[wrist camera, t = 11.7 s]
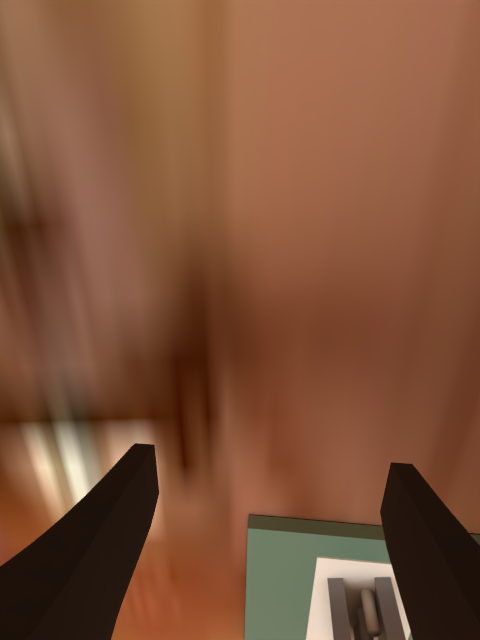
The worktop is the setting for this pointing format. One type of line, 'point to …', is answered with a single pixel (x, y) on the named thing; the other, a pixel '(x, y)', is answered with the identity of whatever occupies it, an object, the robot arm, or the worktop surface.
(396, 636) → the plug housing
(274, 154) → the worktop surface
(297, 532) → the board
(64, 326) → the worktop surface
